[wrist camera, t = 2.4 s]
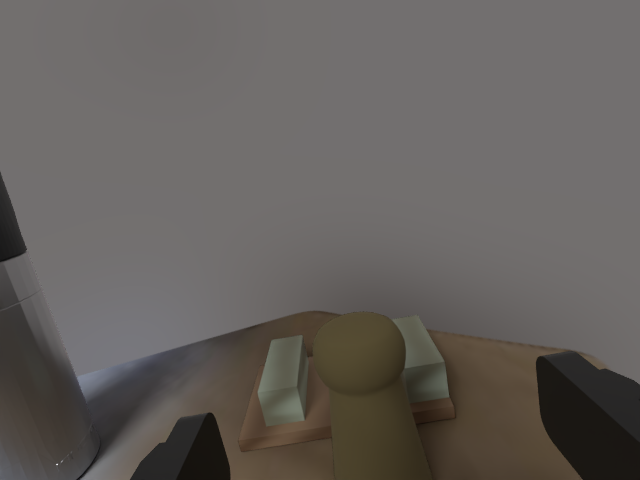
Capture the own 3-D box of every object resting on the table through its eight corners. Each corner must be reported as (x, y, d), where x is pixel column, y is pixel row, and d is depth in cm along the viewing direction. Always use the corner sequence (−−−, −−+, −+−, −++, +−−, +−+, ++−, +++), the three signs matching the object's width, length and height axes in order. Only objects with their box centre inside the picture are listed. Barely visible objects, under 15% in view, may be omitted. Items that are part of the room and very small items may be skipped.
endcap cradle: (241, 451, 28) (228, 405, 27) (262, 374, 37) (253, 338, 37) (455, 417, 27) (449, 369, 26) (420, 347, 37) (414, 310, 36)
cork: (325, 463, 25) (291, 316, 23) (406, 434, 26) (383, 291, 24) (352, 551, 19) (311, 366, 17) (455, 509, 21) (431, 330, 18)
